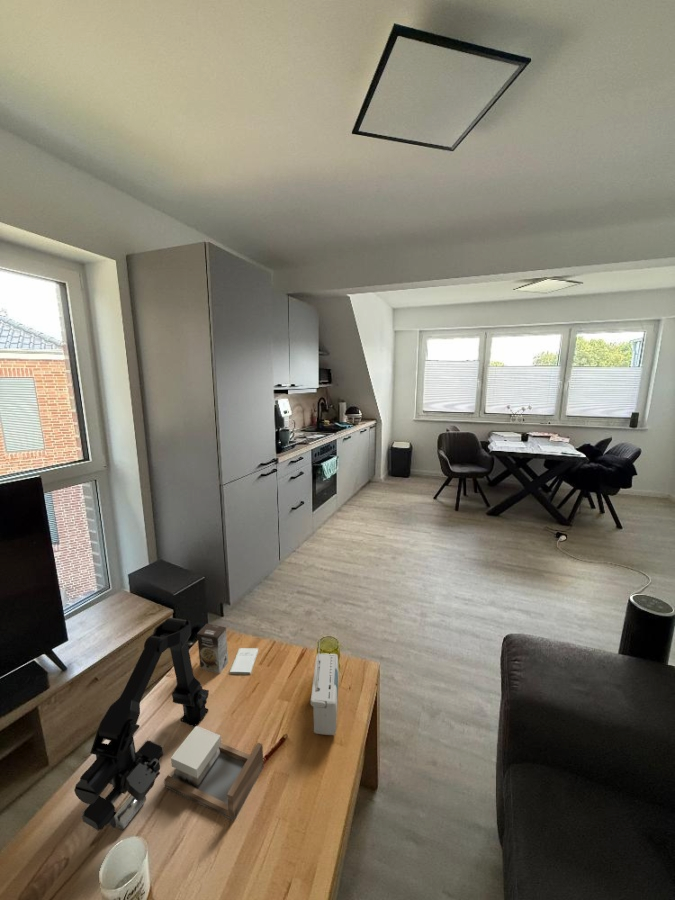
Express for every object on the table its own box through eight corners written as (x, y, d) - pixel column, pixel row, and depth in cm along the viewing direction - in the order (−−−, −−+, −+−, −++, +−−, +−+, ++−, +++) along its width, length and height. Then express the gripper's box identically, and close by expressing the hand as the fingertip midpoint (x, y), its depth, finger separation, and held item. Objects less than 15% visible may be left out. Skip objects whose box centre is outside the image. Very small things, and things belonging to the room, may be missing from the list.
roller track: (165, 786, 99) (162, 763, 98) (200, 740, 112) (198, 718, 111) (234, 821, 91) (232, 796, 90) (263, 766, 104) (262, 744, 103)
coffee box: (199, 669, 140) (196, 633, 136) (209, 657, 146) (206, 622, 142) (219, 674, 137) (216, 637, 134) (229, 662, 143) (226, 626, 140)
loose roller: (113, 825, 91) (111, 813, 90) (135, 797, 97) (134, 786, 96) (125, 832, 89) (123, 820, 89) (146, 803, 95) (145, 792, 95)
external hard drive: (229, 675, 138) (239, 651, 150) (250, 675, 137) (258, 651, 149) (229, 671, 137) (239, 647, 149) (250, 672, 137) (258, 648, 149)
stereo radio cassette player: (336, 738, 112) (336, 684, 109) (310, 737, 113) (309, 684, 109) (338, 683, 133) (338, 636, 129) (316, 682, 133) (316, 635, 129)
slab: (171, 766, 100) (170, 757, 99) (197, 733, 109) (196, 725, 108) (197, 778, 97) (196, 769, 96) (221, 743, 106) (220, 735, 105)
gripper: (111, 812, 78) (119, 865, 81) (175, 734, 96) (181, 781, 99) (76, 792, 82) (85, 844, 85) (144, 721, 99) (150, 766, 102)
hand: (129, 806), depth 93 cm, fingers open, 9 cm apart
